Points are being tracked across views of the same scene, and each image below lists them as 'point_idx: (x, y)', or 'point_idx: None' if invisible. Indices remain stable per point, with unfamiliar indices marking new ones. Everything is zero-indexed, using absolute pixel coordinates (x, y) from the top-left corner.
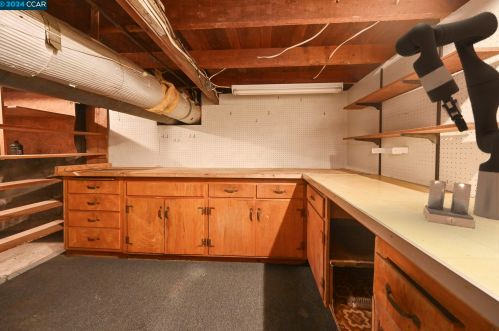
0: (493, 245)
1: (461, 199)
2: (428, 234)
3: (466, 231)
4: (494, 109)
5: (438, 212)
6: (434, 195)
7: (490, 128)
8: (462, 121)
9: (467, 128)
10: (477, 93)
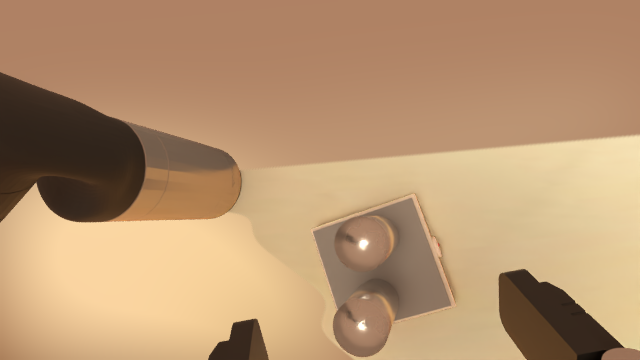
0: (552, 144)
1: (394, 235)
2: (619, 274)
3: (465, 205)
4: None
5: (437, 283)
6: (394, 316)
7: None
8: (612, 338)
9: (525, 276)
10: None
